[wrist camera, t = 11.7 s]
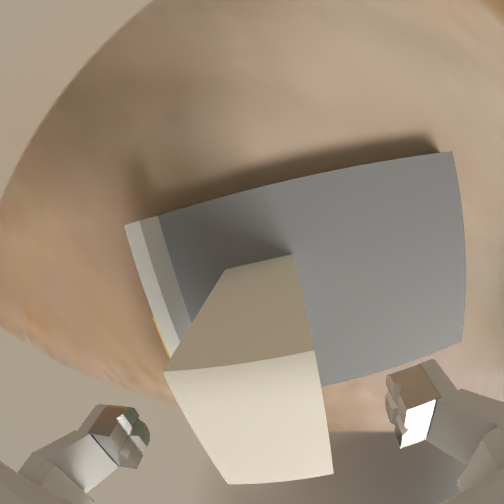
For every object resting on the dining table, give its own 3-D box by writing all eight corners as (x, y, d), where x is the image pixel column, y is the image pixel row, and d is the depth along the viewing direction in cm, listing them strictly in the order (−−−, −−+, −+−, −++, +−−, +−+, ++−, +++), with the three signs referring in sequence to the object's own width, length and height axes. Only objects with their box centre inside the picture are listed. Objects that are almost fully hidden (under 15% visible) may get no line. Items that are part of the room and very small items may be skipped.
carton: (311, 343, 17) (333, 473, 7) (247, 355, 18) (223, 484, 8) (292, 253, 16) (314, 350, 6) (222, 269, 17) (156, 372, 7)
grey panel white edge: (150, 218, 18) (119, 227, 14) (440, 153, 15) (474, 147, 11) (210, 390, 20) (199, 424, 17) (452, 332, 18) (477, 356, 14)
